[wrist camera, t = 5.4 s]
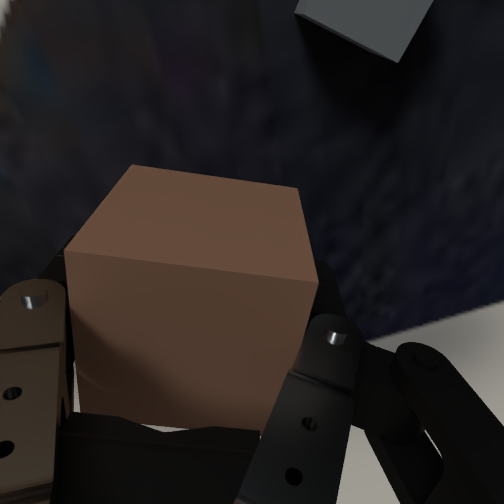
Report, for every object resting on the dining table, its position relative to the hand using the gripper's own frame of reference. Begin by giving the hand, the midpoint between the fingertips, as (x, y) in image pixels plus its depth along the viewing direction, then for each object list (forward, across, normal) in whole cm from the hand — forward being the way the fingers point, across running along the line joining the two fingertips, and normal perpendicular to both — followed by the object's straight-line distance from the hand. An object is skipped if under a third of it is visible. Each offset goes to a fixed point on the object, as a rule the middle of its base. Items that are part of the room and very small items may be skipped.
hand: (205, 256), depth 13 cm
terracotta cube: (+1, 0, 0) cm, 1 cm away
